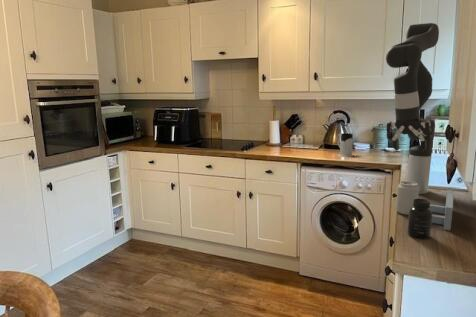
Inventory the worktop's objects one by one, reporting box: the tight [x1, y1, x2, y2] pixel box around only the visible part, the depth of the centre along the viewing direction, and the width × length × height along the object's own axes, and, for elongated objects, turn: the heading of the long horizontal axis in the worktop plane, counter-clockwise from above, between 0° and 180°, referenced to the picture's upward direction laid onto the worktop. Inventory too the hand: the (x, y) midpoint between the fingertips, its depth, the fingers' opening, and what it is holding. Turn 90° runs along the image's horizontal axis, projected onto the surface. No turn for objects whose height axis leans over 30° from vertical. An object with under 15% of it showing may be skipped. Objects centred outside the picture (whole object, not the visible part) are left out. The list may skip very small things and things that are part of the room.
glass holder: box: [336, 132, 354, 158], centre depth 256 cm, size 9×14×15 cm, turn 24°
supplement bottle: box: [407, 198, 433, 240], centre depth 121 cm, size 7×7×12 cm
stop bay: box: [429, 189, 454, 231], centre depth 137 cm, size 24×10×8 cm, turn 150°
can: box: [395, 180, 420, 216], centre depth 142 cm, size 8×8×12 cm
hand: (409, 150), depth 130 cm, fingers open, 8 cm apart
